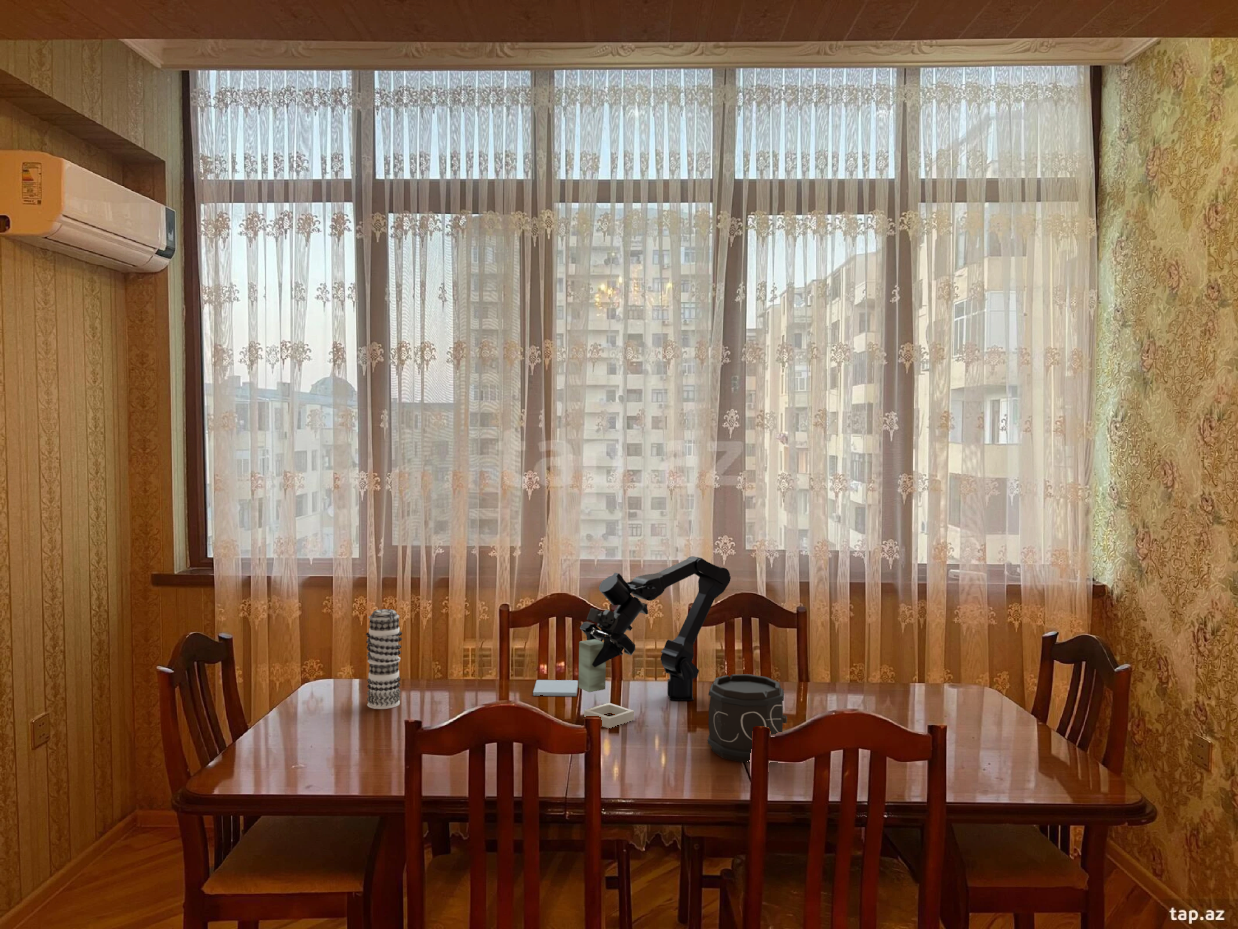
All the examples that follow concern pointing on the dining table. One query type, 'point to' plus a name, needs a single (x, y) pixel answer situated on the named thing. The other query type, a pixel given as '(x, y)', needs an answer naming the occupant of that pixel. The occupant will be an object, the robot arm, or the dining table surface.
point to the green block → (591, 666)
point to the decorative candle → (383, 659)
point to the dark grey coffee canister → (742, 713)
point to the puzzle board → (619, 718)
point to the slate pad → (556, 688)
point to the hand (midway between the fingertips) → (587, 663)
